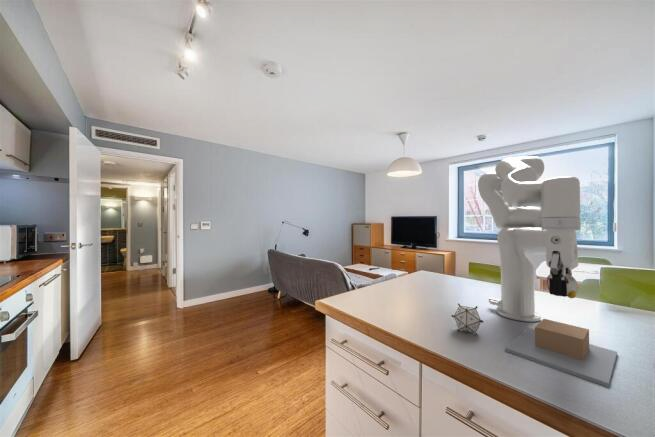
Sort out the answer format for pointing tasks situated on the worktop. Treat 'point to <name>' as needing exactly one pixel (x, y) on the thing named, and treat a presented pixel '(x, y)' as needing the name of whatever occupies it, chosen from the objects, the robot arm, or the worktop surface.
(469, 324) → the white geodesic ball toy
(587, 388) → the worktop surface
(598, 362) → the tower base
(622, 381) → the worktop surface
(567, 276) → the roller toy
